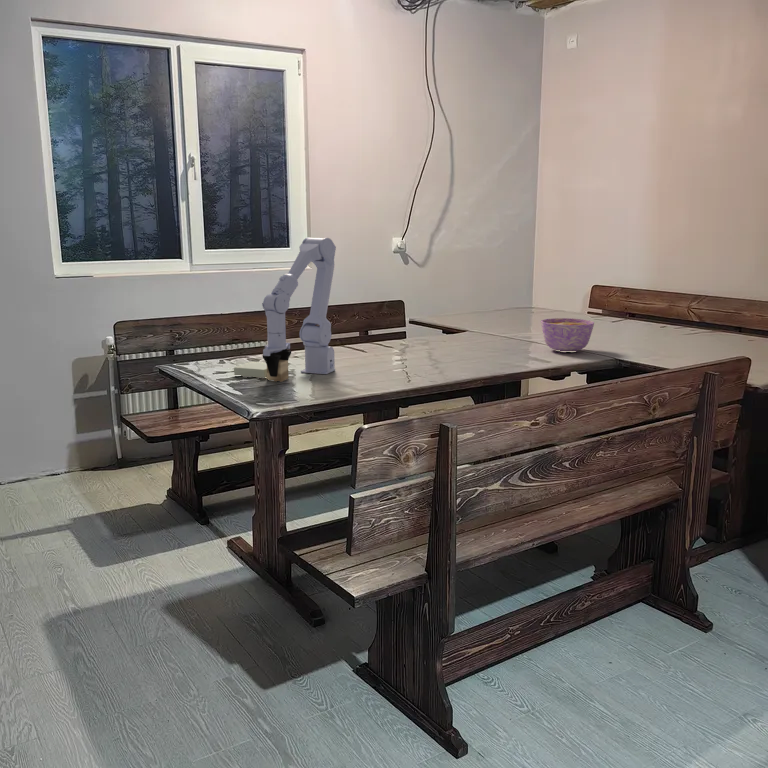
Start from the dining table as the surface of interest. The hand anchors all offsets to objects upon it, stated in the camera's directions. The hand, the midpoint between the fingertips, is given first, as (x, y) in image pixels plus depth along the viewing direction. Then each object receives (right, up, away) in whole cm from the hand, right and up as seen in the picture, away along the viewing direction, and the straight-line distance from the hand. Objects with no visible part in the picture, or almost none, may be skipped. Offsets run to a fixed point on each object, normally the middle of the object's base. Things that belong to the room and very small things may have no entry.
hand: (277, 374), depth 245 cm
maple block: (0, -2, 0) cm, 2 cm away
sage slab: (-8, 0, +8) cm, 11 cm away
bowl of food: (+104, +9, +52) cm, 117 cm away
